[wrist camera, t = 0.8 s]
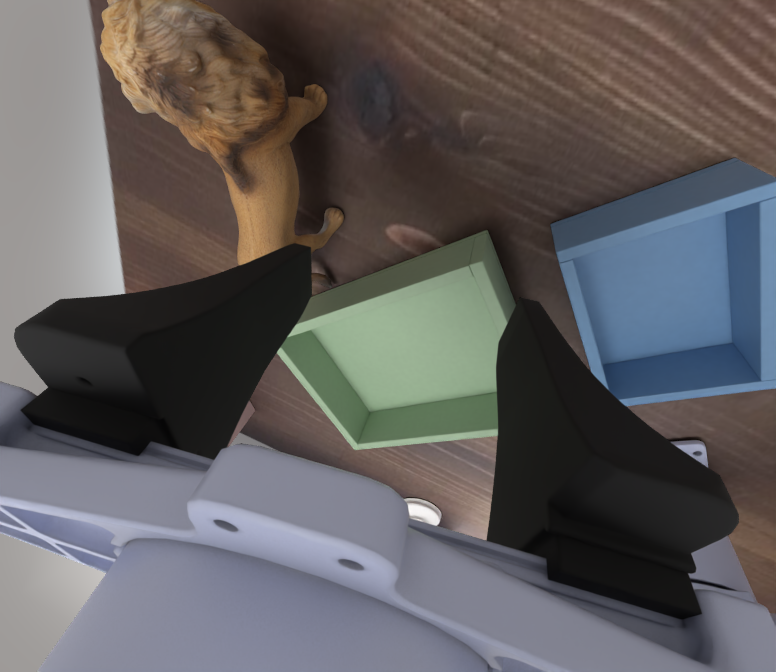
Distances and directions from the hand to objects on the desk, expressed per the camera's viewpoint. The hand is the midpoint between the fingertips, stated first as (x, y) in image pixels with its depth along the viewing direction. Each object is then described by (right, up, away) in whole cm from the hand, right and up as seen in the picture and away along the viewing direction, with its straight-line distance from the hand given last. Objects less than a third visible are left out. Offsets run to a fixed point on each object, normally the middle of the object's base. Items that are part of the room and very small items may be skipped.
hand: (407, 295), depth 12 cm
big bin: (+1, -2, +14) cm, 14 cm away
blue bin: (+14, +1, +7) cm, 15 cm away
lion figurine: (-6, +9, +9) cm, 14 cm away
